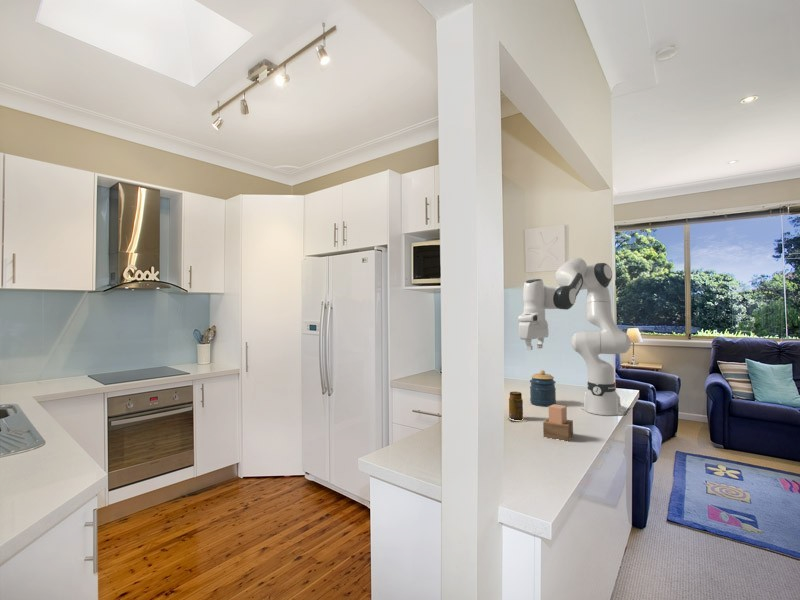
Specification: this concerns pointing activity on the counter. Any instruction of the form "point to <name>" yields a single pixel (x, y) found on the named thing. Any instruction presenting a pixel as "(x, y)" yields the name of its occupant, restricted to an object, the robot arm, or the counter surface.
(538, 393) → the canister
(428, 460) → the counter surface
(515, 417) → the condiment
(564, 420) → the terracotta cube
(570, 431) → the walnut box
